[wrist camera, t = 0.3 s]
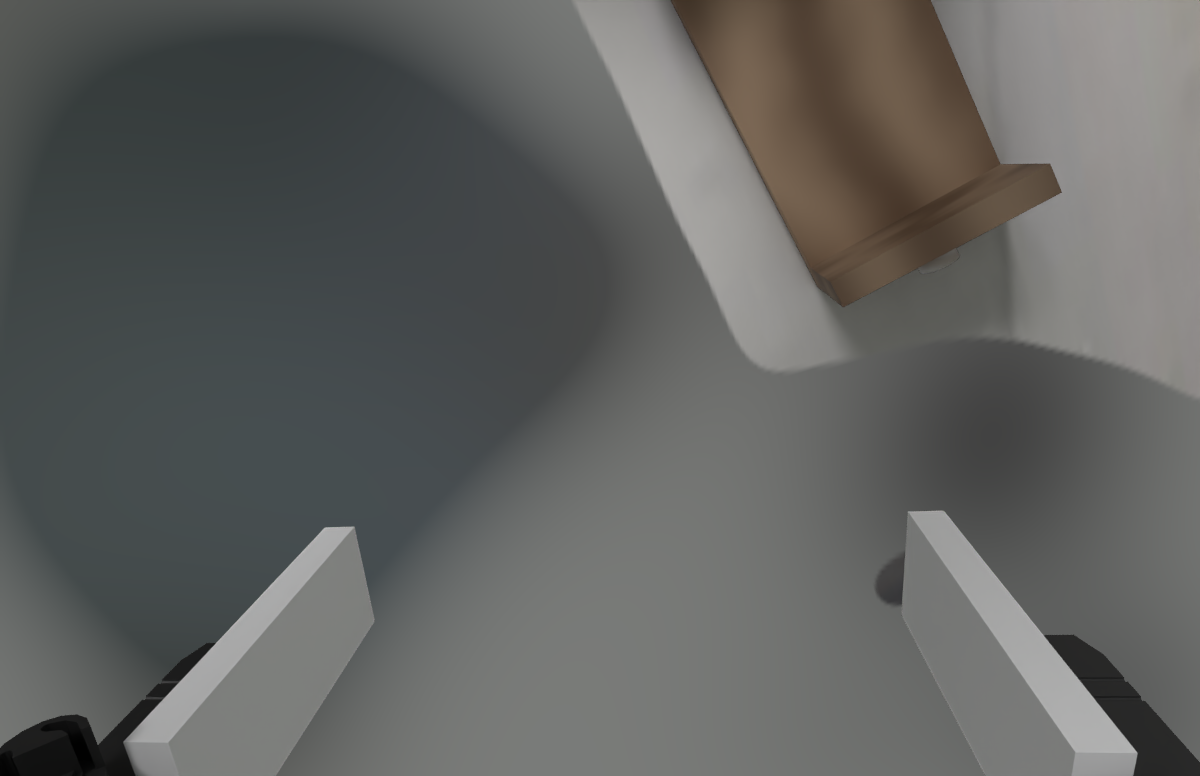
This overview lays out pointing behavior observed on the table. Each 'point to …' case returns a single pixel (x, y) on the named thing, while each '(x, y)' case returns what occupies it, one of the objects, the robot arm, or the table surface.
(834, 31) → the walnut holder
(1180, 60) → the table surface
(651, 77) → the table surface
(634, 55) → the table surface
